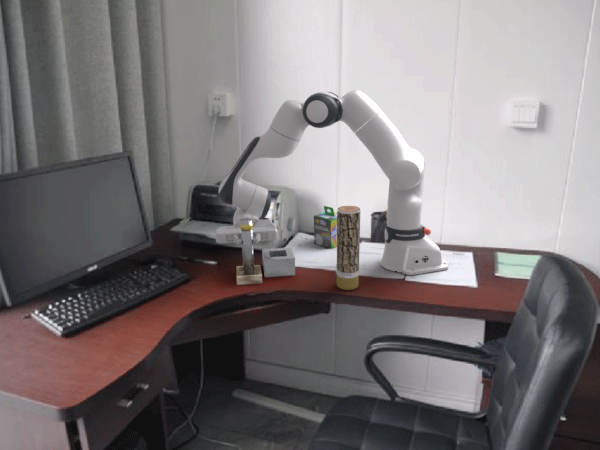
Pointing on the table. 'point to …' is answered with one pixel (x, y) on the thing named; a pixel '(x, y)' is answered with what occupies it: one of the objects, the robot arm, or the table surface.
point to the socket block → (278, 262)
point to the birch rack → (249, 276)
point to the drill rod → (247, 246)
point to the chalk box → (326, 228)
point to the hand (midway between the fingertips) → (247, 242)
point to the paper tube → (348, 247)
